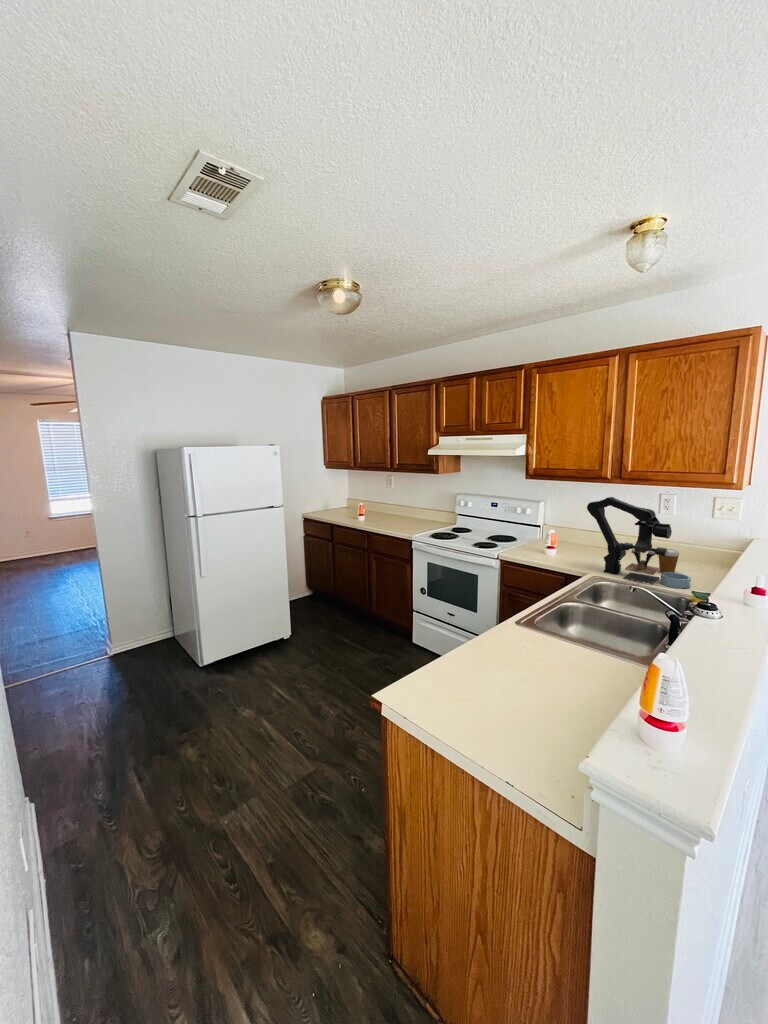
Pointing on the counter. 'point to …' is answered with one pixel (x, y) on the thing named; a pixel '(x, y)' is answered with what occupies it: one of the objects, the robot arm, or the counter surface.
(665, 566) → the disposable coffee cup
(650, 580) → the mat
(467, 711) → the counter surface
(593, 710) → the counter surface
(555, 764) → the counter surface
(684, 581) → the bowl
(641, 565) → the cover
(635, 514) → the robot arm
